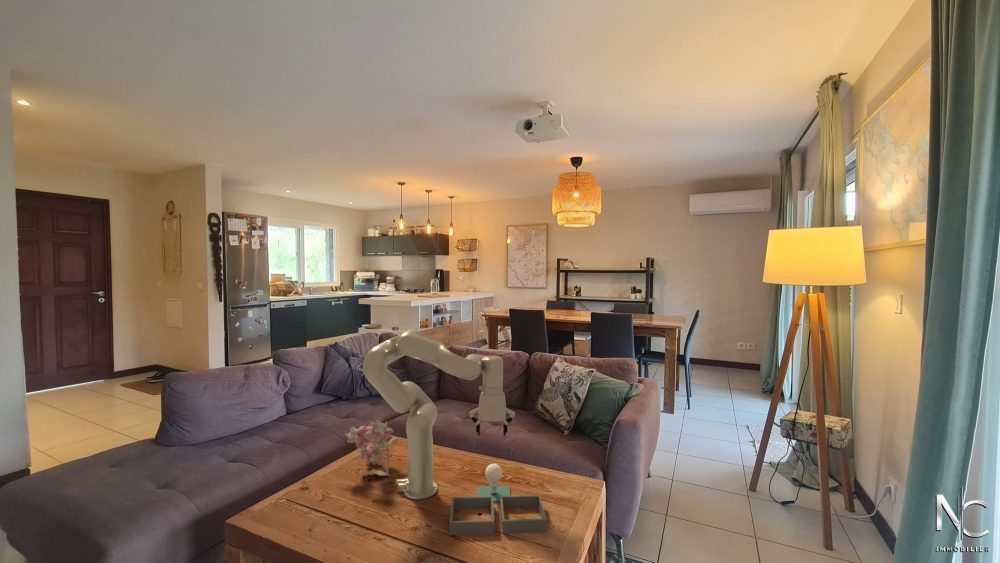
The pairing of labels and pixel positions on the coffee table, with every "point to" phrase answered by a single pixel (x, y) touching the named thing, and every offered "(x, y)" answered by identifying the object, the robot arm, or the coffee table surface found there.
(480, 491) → the mat
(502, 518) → the box
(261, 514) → the coffee table surface
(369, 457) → the flower
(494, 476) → the lightbulb
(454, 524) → the box
